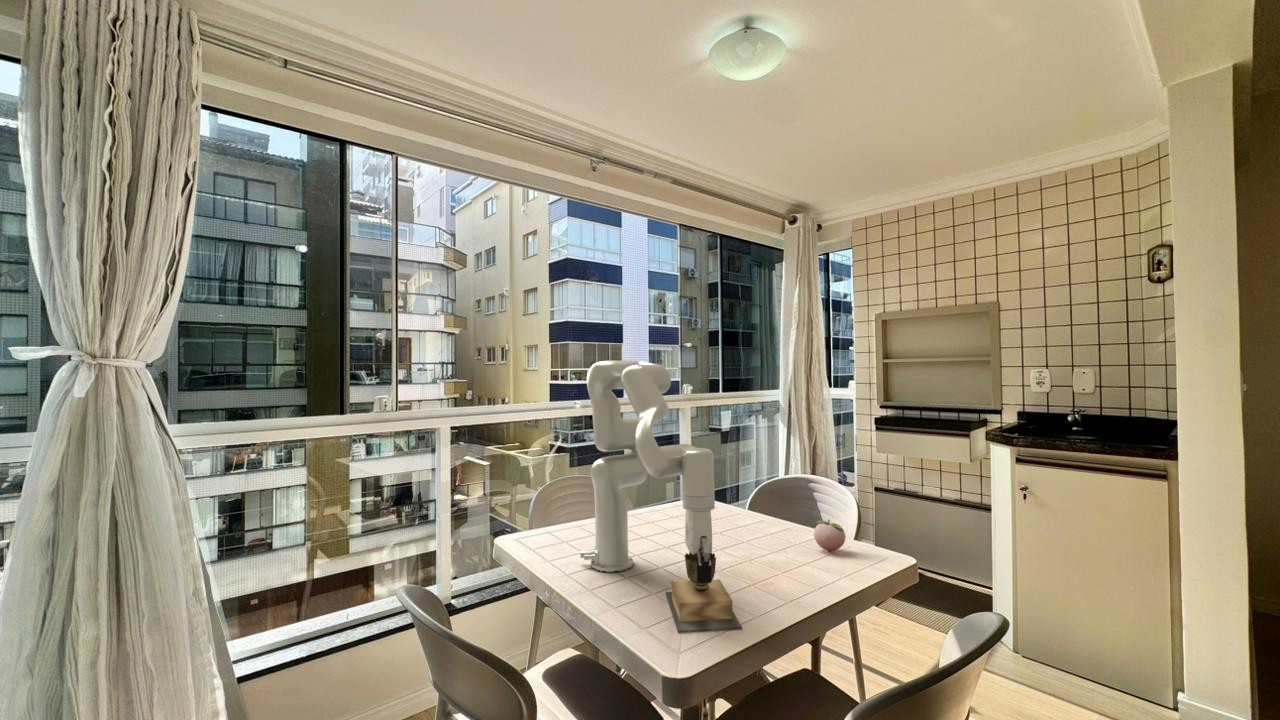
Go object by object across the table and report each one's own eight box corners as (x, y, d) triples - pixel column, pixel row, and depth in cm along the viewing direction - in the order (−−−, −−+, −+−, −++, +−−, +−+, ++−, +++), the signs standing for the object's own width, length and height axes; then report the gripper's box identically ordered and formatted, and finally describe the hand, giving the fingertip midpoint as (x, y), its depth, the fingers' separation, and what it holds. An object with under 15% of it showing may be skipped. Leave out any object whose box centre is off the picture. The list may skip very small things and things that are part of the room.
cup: (683, 583, 125) (682, 550, 125) (713, 582, 126) (712, 549, 126) (688, 596, 118) (687, 561, 118) (720, 595, 118) (719, 560, 118)
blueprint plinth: (678, 632, 110) (677, 611, 110) (665, 593, 130) (665, 575, 130) (742, 629, 111) (741, 608, 111) (720, 591, 131) (719, 573, 131)
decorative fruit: (809, 552, 158) (808, 520, 159) (819, 545, 164) (818, 514, 165) (840, 559, 152) (839, 525, 152) (849, 552, 158) (848, 519, 159)
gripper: (677, 493, 130) (678, 562, 129) (689, 511, 113) (690, 590, 112) (706, 492, 130) (708, 560, 130) (723, 510, 113) (724, 588, 113)
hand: (700, 574), depth 121 cm, fingers open, 9 cm apart
